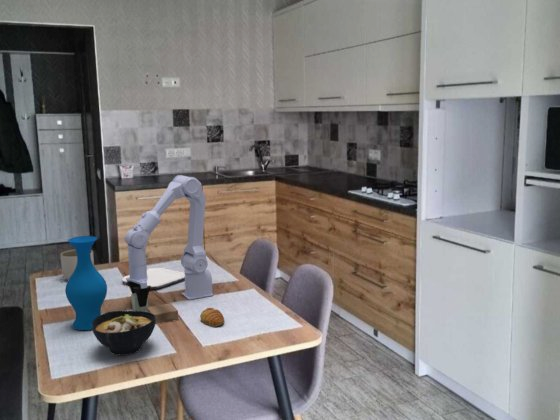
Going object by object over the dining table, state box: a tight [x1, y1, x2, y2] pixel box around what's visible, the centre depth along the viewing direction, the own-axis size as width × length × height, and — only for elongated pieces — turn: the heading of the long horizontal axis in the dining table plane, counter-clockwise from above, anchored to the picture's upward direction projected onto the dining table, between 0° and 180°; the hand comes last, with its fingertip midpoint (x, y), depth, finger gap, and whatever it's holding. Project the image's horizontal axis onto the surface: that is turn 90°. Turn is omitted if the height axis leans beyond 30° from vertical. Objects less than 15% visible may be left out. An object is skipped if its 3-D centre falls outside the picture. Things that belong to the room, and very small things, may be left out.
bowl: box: [92, 310, 156, 356], centre depth 153 cm, size 17×17×10 cm
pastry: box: [199, 307, 225, 328], centre depth 173 cm, size 9×7×4 cm
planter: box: [59, 248, 95, 281], centre depth 220 cm, size 12×12×11 cm
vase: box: [64, 235, 108, 331], centre depth 170 cm, size 12×13×28 cm
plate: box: [121, 267, 185, 290], centre depth 217 cm, size 21×21×2 cm
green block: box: [130, 293, 149, 312], centre depth 186 cm, size 4×4×5 cm
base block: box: [146, 302, 179, 325], centre depth 177 cm, size 8×8×4 cm
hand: (139, 302), depth 186 cm, fingers open, 7 cm apart
